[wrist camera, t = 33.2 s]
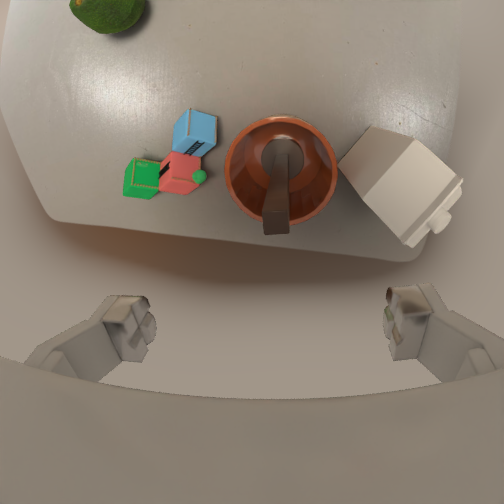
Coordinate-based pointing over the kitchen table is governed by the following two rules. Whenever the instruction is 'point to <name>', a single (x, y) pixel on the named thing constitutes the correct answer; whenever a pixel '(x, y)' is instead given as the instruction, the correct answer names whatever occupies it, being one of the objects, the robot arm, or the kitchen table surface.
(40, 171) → the kitchen table surface
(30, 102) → the kitchen table surface
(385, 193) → the milk carton
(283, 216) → the ladle
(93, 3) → the avocado
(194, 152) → the building blocks
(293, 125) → the crock
